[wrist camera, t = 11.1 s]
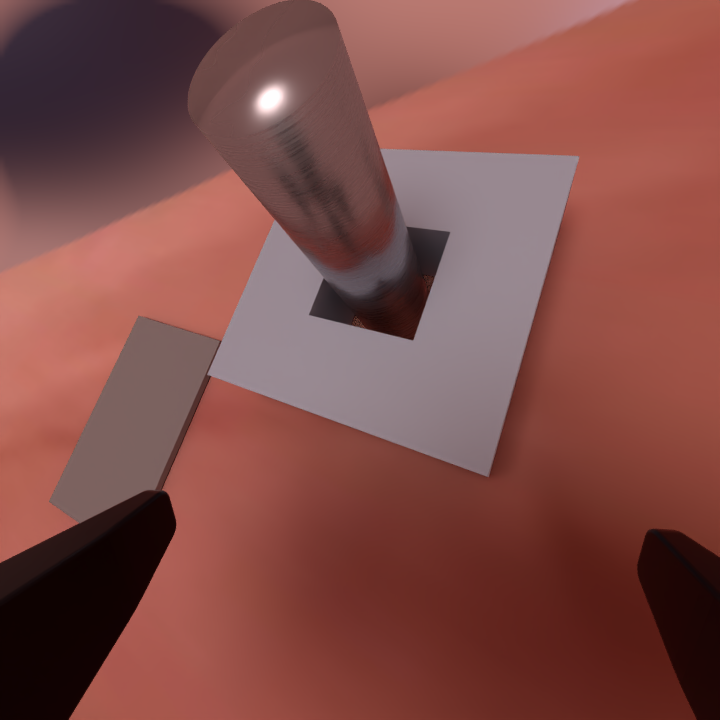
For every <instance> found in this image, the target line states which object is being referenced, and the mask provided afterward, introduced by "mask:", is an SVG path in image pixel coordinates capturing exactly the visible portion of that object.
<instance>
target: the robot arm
mask: <svg viewBox="0 0 720 720" xmlns="http://www.w3.org/2000/svg"><path fill="white" fill-rule="evenodd" d="M175 530H176V519H175V515H174V511H173V508H172V504H171V501H170V497H169V495H168V494H167V493H166V492H165V491H159V490H145V491H143V492H141V493H139V494H137V495H135V496H133V497H131V498H129V499H127V500H125V501H123V502H121V503H119V504H117V505H115V506H113V507H111V508H109V509H107V510H105V511H103V512H101V513H99V514H97V515H95V516H93V517H91V518H89V519H87V520H85V521H83V522H81V523H79V524H77V525H75V526H73V527H71V528H69V529H67V530H65V531H63V532H61V533H59V534H57V535H55V536H53V537H51V538H49V539H47V540H45V541H43V542H41V543H39V544H37V545H35V546H33V547H31V548H29V549H27V550H25V551H23V552H21V553H19V554H17V555H15V556H13V557H11V558H9V559H7V560H5V561H3V562H1V563H0V720H69V718H70V717H71V715H72V713H73V712H74V710H75V708H76V707H77V705H78V703H79V702H80V700H81V699H82V697H83V695H84V694H85V692H86V690H87V689H88V687H89V686H90V684H91V682H92V681H93V679H94V677H95V676H96V674H97V672H98V671H99V669H100V668H101V666H102V664H103V663H104V661H105V659H106V658H107V656H108V655H109V653H110V651H111V650H112V648H113V646H114V645H115V643H116V641H117V640H118V638H119V637H120V635H121V633H122V632H123V630H124V628H125V627H126V625H127V624H128V622H129V620H130V618H131V617H132V615H133V613H134V612H135V610H136V608H137V606H138V604H139V602H140V601H141V599H142V597H143V595H144V593H145V591H146V589H147V587H148V585H149V583H150V581H151V579H152V577H153V575H154V573H155V571H156V569H157V567H158V565H159V563H160V561H161V559H162V557H163V555H164V553H165V551H166V549H167V547H168V545H169V543H170V541H171V539H172V537H173V535H174V533H175ZM637 571H638V576H639V580H640V583H641V585H642V588H643V590H644V593H645V596H646V598H647V601H648V603H649V606H650V609H651V611H652V614H653V616H654V619H655V622H656V624H657V627H658V629H659V632H660V635H661V637H662V640H663V642H664V645H665V648H666V650H667V653H668V655H669V658H670V661H671V663H672V666H673V668H674V671H675V673H676V675H677V678H678V680H679V683H680V685H681V687H682V689H683V691H684V693H685V696H686V698H687V700H688V702H689V704H690V706H691V708H692V710H693V712H694V714H695V716H696V718H697V720H720V557H718V556H717V555H715V554H714V553H712V552H711V551H709V550H708V549H706V548H704V547H703V546H701V545H700V544H698V543H697V542H695V541H694V540H692V539H691V538H689V537H688V536H686V535H685V534H683V533H681V532H679V531H676V530H667V529H650V530H648V531H647V533H646V535H645V538H644V542H643V545H642V549H641V553H640V556H639V560H638V564H637Z"/></svg>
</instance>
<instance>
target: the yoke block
mask: <svg viewBox="0 0 720 720" xmlns="http://www.w3.org/2000/svg"><path fill="white" fill-rule="evenodd" d="M380 150H381V153H382V156H383V159H384V162H385V165H386V168H387V171H388V174H389V177H390V180H391V183H392V186H393V189H394V192H395V195H396V198H397V201H398V204H399V207H400V209H401V212H402V215H403V218H404V221H405V224H406V227H407V230H408V233H409V236H410V239H411V242H412V245H413V248H414V251H415V254H416V257H417V260H418V263H419V265H420V268H421V271H422V274H423V275H429V276H435V279H434V282H433V285H432V287H431V290H430V293H429V296H428V299H427V302H426V305H425V308H424V311H423V314H422V317H421V320H420V323H419V326H418V328H417V331H416V334H415V337H414V340H413V341H412V340H408V339H404V338H400V337H396V336H392V335H388V334H384V333H380V332H376V331H372V330H368V329H363V328H359V327H355V326H351V324H352V321H353V318H354V316H355V314H354V313H353V312H352V311H351V309H350V308H349V307H348V306H347V305H346V304H345V302H344V301H343V300H342V299H341V298H340V296H339V295H338V294H337V293H336V292H335V290H334V289H333V288H332V287H331V286H330V285H329V283H328V282H327V281H326V280H325V279H324V277H323V276H322V275H321V274H320V273H319V271H318V270H317V269H316V268H315V267H314V265H313V264H312V263H311V262H310V261H309V260H308V258H307V257H306V256H305V255H304V254H303V252H302V251H301V250H300V249H299V248H298V246H297V245H296V244H295V243H294V242H293V240H292V239H291V238H290V237H289V236H288V235H287V233H286V232H285V231H284V230H283V229H282V227H281V226H280V225H279V224H278V223H277V221H276V220H274V223H273V225H272V227H271V230H270V232H269V234H268V236H267V239H266V241H265V243H264V246H263V248H262V250H261V252H260V255H259V257H258V259H257V262H256V264H255V266H254V269H253V271H252V273H251V275H250V278H249V280H248V282H247V285H246V287H245V289H244V291H243V294H242V296H241V298H240V301H239V303H238V305H237V308H236V310H235V312H234V314H233V317H232V319H231V321H230V324H229V326H228V328H227V331H226V333H225V335H224V337H223V340H222V342H221V344H220V347H219V349H218V351H217V353H216V356H215V358H214V360H213V363H212V365H211V367H210V370H209V372H208V374H207V375H210V376H212V377H215V378H218V379H221V380H223V381H226V382H229V383H232V384H234V385H237V386H240V387H243V388H245V389H248V390H251V391H254V392H256V393H259V394H262V395H264V396H267V397H270V398H273V399H275V400H278V401H281V402H284V403H286V404H289V405H292V406H295V407H297V408H300V409H303V410H306V411H308V412H311V413H314V414H317V415H319V416H322V417H325V418H328V419H330V420H333V421H336V422H339V423H341V424H344V425H347V426H349V427H352V428H355V429H358V430H360V431H363V432H366V433H369V434H371V435H374V436H377V437H380V438H382V439H385V440H388V441H391V442H393V443H396V444H399V445H402V446H404V447H407V448H410V449H413V450H415V451H418V452H421V453H423V454H426V455H429V456H432V457H434V458H437V459H440V460H443V461H445V462H448V463H451V464H454V465H456V466H459V467H462V468H465V469H467V470H470V471H473V472H476V473H478V474H481V475H484V476H487V477H489V475H490V472H491V468H492V465H493V461H494V458H495V454H496V451H497V447H498V444H499V440H500V437H501V433H502V430H503V426H504V423H505V419H506V416H507V412H508V409H509V405H510V402H511V398H512V395H513V391H514V388H515V384H516V381H517V377H518V374H519V370H520V367H521V363H522V360H523V356H524V353H525V349H526V346H527V342H528V339H529V335H530V332H531V328H532V324H533V321H534V317H535V314H536V310H537V307H538V303H539V300H540V296H541V293H542V289H543V286H544V282H545V279H546V275H547V272H548V268H549V265H550V261H551V258H552V254H553V251H554V247H555V244H556V240H557V237H558V233H559V230H560V226H561V223H562V219H563V215H564V212H565V208H566V204H567V200H568V197H569V193H570V189H571V186H572V182H573V178H574V174H575V171H576V167H577V163H578V160H579V156H563V155H536V154H508V153H481V152H454V151H427V150H399V149H380Z"/></svg>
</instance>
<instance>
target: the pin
mask: <svg viewBox="0 0 720 720" xmlns="http://www.w3.org/2000/svg"><path fill="white" fill-rule="evenodd" d="M188 110H189V114H190V117H191V119H192V121H193V123H194V124H195V125H196V126H197V127H198V129H199V130H200V131H201V132H202V133H203V135H204V136H205V137H206V138H207V139H208V141H209V142H210V143H211V144H212V145H213V146H214V148H215V149H216V150H217V151H218V152H219V154H220V155H221V156H222V157H223V158H224V160H225V161H226V162H227V163H228V164H229V166H230V167H231V168H232V169H233V170H234V171H235V173H236V174H237V175H238V176H239V177H240V179H241V180H242V181H243V182H244V183H245V185H246V186H247V187H248V188H249V189H250V191H251V192H252V193H253V194H254V195H255V196H256V198H257V199H258V200H259V201H260V202H261V204H262V205H263V206H264V207H265V208H266V210H267V211H268V212H269V213H270V214H271V215H272V217H273V218H274V219H275V220H276V221H277V223H278V224H279V225H280V226H281V227H282V229H283V230H284V231H285V232H286V233H287V235H288V236H289V237H290V238H291V239H292V240H293V242H294V243H295V244H296V245H297V246H298V248H299V249H300V250H301V251H302V252H303V254H304V255H305V256H306V257H307V258H308V260H309V261H310V262H311V263H312V264H313V265H314V267H315V268H316V269H317V270H318V271H319V273H320V274H321V275H322V276H323V277H324V279H325V280H326V281H327V282H328V283H329V285H330V286H331V287H332V288H333V289H334V290H335V292H336V293H337V294H338V295H339V296H340V298H341V299H342V300H343V301H344V302H345V304H346V305H347V306H348V307H349V308H350V309H351V311H352V312H353V313H354V314H355V315H356V317H357V318H358V319H359V320H360V321H361V323H362V324H363V325H364V326H365V327H366V329H368V330H372V331H376V332H380V333H384V334H388V335H392V336H396V337H400V338H404V339H408V340H412V341H413V340H414V337H415V334H416V331H417V328H418V326H419V323H420V320H421V317H422V314H423V311H424V308H425V305H426V302H427V299H428V296H429V292H428V289H427V286H426V283H425V280H424V277H423V274H422V271H421V268H420V265H419V263H418V260H417V257H416V254H415V251H414V248H413V245H412V242H411V239H410V236H409V233H408V230H407V227H406V224H405V221H404V218H403V215H402V212H401V209H400V207H399V204H398V201H397V198H396V195H395V192H394V189H393V186H392V183H391V180H390V177H389V174H388V171H387V168H386V165H385V162H384V159H383V156H382V153H381V150H380V148H379V145H378V142H377V139H376V136H375V133H374V130H373V127H372V124H371V121H370V118H369V115H368V112H367V109H366V106H365V103H364V100H363V97H362V94H361V91H360V89H359V86H358V83H357V80H356V77H355V74H354V71H353V68H352V65H351V62H350V59H349V56H348V53H347V50H346V47H345V44H344V42H343V38H342V36H341V32H340V30H339V27H338V24H337V21H336V18H335V17H334V15H333V13H332V12H331V11H330V10H329V9H328V8H327V7H326V6H324V5H322V4H320V3H318V2H315V1H311V0H289V1H283V2H279V3H276V4H273V5H270V6H268V7H265V8H263V9H261V10H259V11H257V12H255V13H253V14H251V15H250V16H248V17H246V18H245V19H243V20H242V21H240V22H239V23H237V24H236V25H235V26H234V27H232V28H231V29H230V30H229V31H228V32H226V33H225V34H224V35H223V36H222V37H221V38H220V39H219V40H218V41H217V42H216V43H215V44H214V45H213V47H212V48H211V49H210V50H209V51H208V53H207V54H206V55H205V57H204V59H203V60H202V61H201V63H200V65H199V66H198V68H197V70H196V72H195V74H194V77H193V79H192V82H191V85H190V89H189V93H188Z"/></svg>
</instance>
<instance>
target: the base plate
mask: <svg viewBox="0 0 720 720" xmlns="http://www.w3.org/2000/svg"><path fill="white" fill-rule="evenodd" d="M220 344H221V341H218V340H215V339H212V338H209V337H205V336H202V335H199V334H196V333H193V332H189V331H186V330H183V329H180V328H177V327H173V326H170V325H167V324H164V323H161V322H157V321H154V320H151V319H148V318H145V317H141V316H138V318H137V320H136V322H135V324H134V326H133V329H132V331H131V333H130V335H129V337H128V339H127V341H126V343H125V345H124V347H123V349H122V351H121V353H120V355H119V358H118V360H117V362H116V364H115V366H114V368H113V370H112V372H111V374H110V376H109V378H108V380H107V382H106V384H105V387H104V389H103V391H102V393H101V395H100V397H99V399H98V401H97V403H96V405H95V407H94V409H93V411H92V413H91V416H90V418H89V420H88V422H87V424H86V426H85V428H84V430H83V432H82V434H81V436H80V438H79V440H78V442H77V445H76V447H75V449H74V451H73V453H72V455H71V457H70V459H69V461H68V463H67V465H66V467H65V469H64V471H63V474H62V476H61V478H60V480H59V482H58V484H57V486H56V488H55V490H54V492H53V494H52V496H51V498H50V500H49V502H50V503H52V504H53V505H54V506H56V507H57V508H59V509H60V510H62V511H63V512H64V513H66V514H67V515H69V516H70V517H72V518H73V519H74V520H76V521H77V522H79V523H81V522H83V521H85V520H87V519H89V518H91V517H93V516H95V515H97V514H99V513H101V512H103V511H105V510H107V509H109V508H111V507H113V506H115V505H117V504H119V503H121V502H123V501H125V500H127V499H129V498H131V497H133V496H135V495H137V494H139V493H141V492H143V491H145V490H159V491H161V489H162V486H163V484H164V482H165V479H166V477H167V475H168V472H169V470H170V468H171V466H172V463H173V461H174V459H175V456H176V454H177V452H178V449H179V447H180V445H181V443H182V440H183V438H184V436H185V433H186V431H187V429H188V426H189V424H190V422H191V419H192V417H193V415H194V413H195V410H196V408H197V406H198V403H199V401H200V399H201V396H202V394H203V392H204V390H205V387H206V385H207V383H208V380H209V378H210V375H207V374H208V372H209V370H210V367H211V365H212V363H213V360H214V358H215V356H216V353H217V351H218V349H219V347H220Z"/></svg>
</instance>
